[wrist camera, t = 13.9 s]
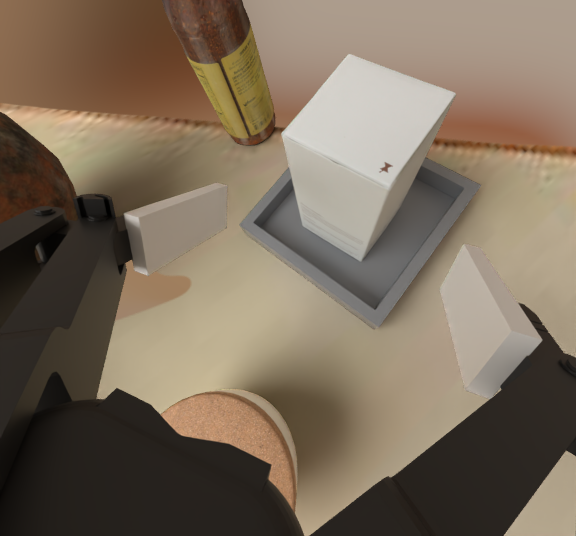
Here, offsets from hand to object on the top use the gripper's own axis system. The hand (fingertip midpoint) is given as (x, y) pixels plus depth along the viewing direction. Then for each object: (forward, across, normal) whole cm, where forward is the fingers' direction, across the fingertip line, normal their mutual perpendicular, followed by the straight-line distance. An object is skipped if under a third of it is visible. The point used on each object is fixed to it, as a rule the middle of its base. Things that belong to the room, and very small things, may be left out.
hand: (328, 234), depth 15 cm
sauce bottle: (+20, -15, +3) cm, 25 cm away
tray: (+13, 0, -3) cm, 14 cm away
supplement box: (+13, 0, -3) cm, 13 cm away
